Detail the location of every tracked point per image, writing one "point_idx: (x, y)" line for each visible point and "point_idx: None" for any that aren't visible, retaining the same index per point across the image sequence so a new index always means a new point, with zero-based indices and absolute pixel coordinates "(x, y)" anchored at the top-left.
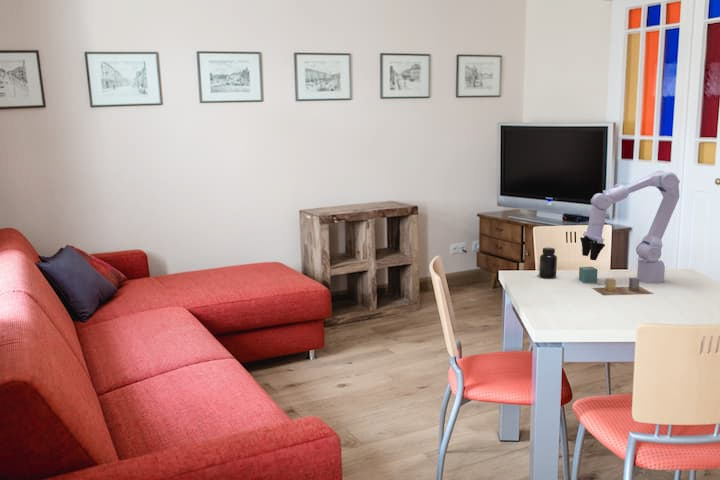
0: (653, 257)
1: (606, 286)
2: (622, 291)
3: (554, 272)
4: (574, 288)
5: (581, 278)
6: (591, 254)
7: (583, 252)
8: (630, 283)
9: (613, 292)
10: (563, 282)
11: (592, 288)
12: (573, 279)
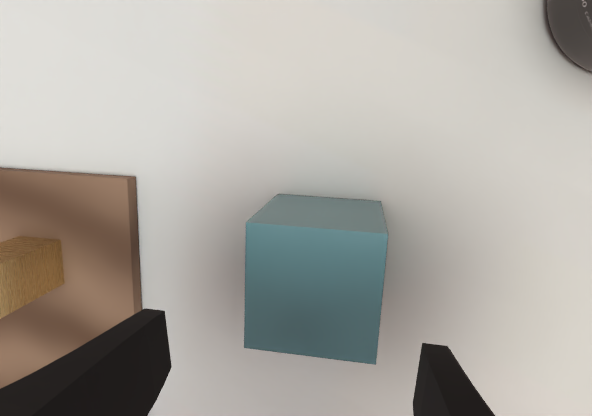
0: None
1: (23, 247)
2: (34, 325)
3: (577, 25)
4: (185, 76)
5: (324, 204)
6: (78, 348)
7: (431, 378)
8: None
9: None
10: (382, 65)
11: (109, 179)
12: (465, 194)
